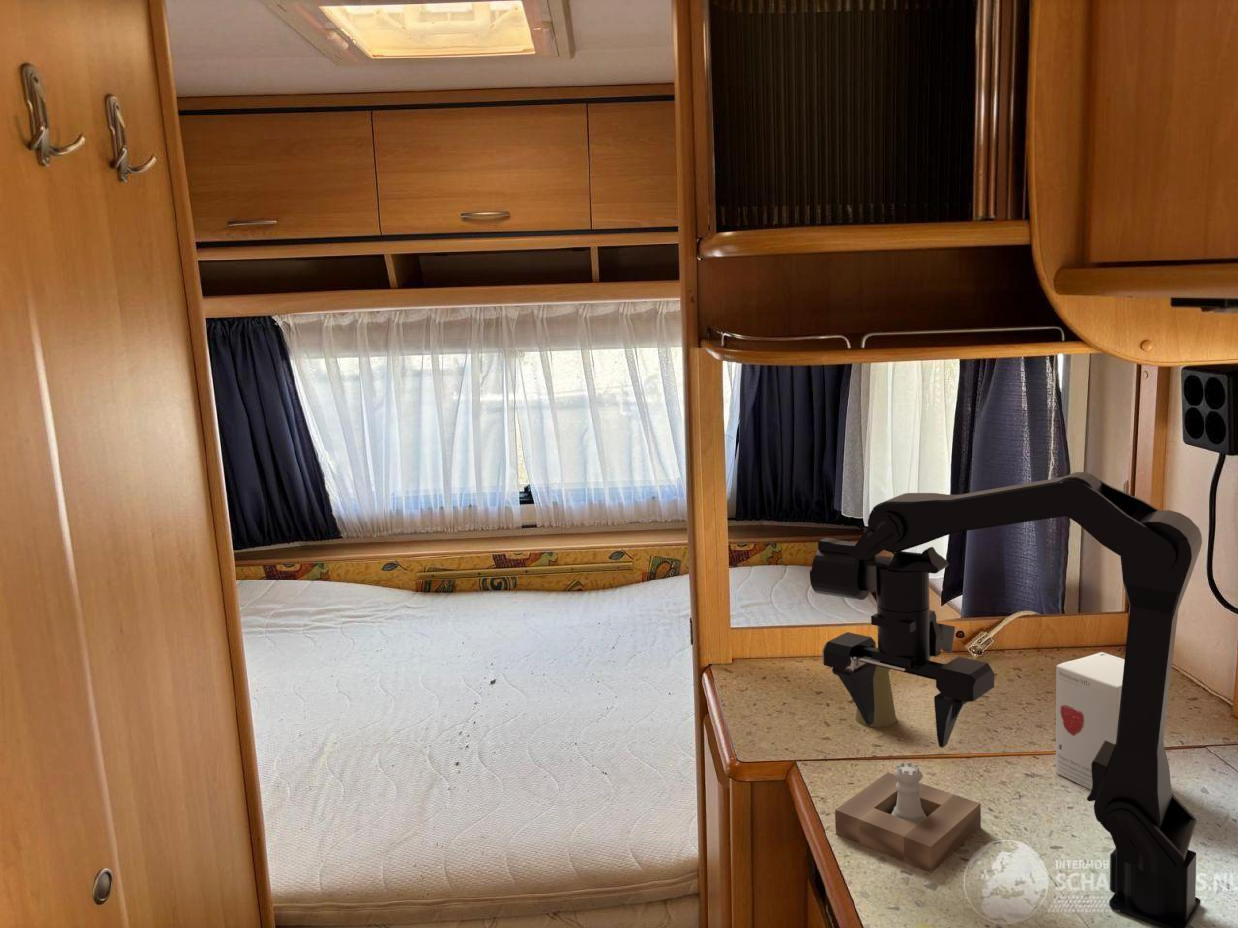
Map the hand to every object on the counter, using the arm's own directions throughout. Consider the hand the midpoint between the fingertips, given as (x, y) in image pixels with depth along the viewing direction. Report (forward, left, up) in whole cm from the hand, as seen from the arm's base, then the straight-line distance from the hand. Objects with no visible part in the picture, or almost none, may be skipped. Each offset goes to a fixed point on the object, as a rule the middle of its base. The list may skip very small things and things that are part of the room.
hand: (905, 734), depth 102 cm
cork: (+19, -25, -12) cm, 34 cm away
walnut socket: (0, 0, -12) cm, 12 cm away
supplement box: (-13, -27, -12) cm, 32 cm away
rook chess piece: (0, 0, -12) cm, 12 cm away
